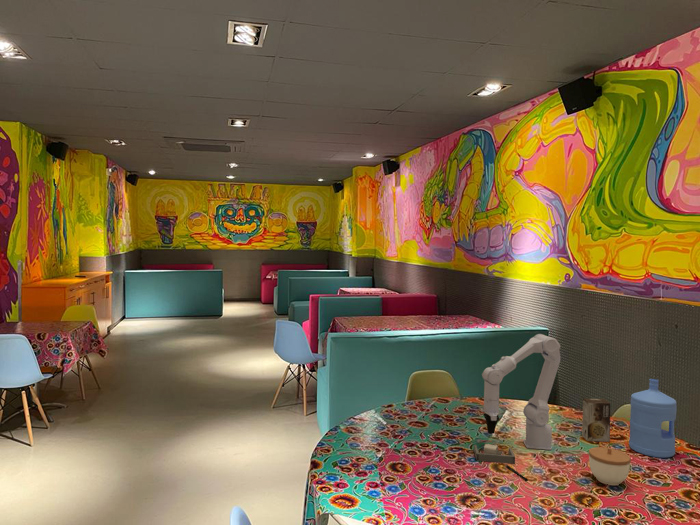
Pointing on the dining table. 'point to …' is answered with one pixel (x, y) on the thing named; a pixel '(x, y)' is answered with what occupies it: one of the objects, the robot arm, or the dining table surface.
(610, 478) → the lidded bowl
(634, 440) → the water jug
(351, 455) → the dining table surface
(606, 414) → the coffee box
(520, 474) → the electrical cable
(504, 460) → the charging bay
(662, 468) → the dining table surface
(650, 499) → the dining table surface
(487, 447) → the usb wall charger
